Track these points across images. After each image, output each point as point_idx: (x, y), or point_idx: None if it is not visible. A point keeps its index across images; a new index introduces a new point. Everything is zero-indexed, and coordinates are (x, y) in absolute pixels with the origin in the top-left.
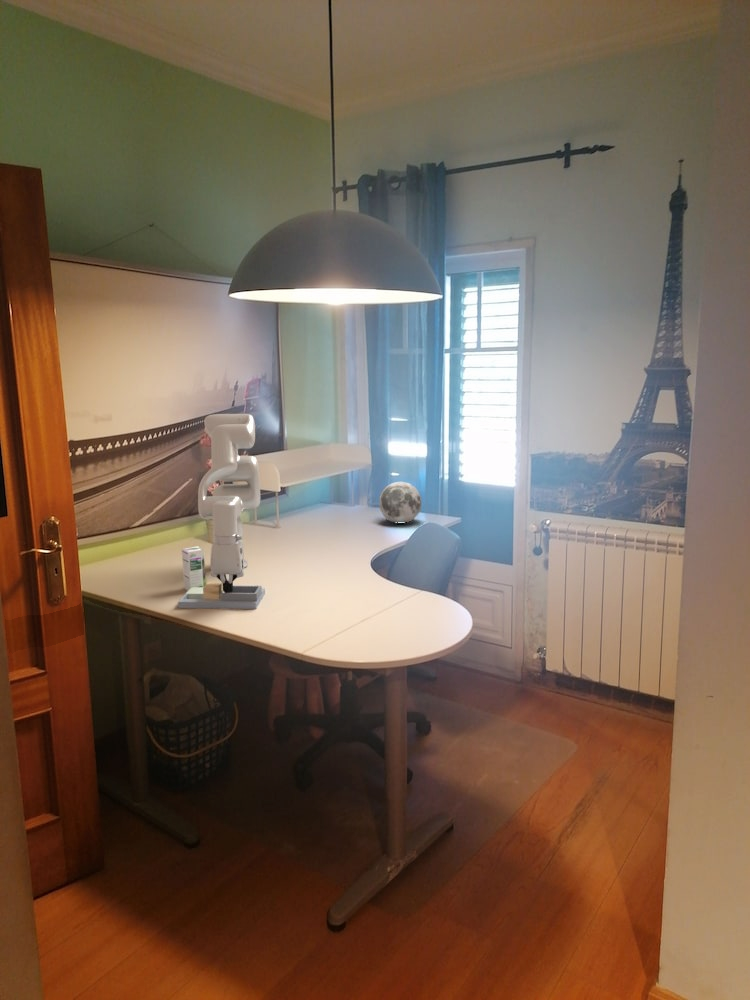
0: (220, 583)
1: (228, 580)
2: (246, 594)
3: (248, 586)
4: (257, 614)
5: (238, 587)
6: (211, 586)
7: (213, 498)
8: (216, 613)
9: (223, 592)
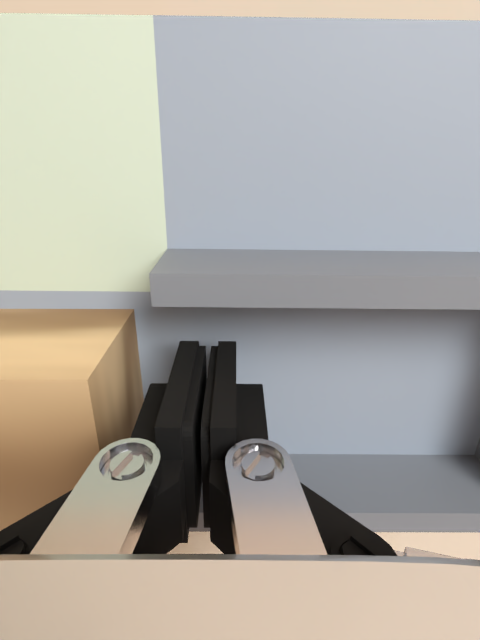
0: (73, 407)
1: (212, 520)
2: (431, 526)
3: (460, 308)
4: (459, 542)
5: (316, 301)
6: (7, 516)
7: None
8: (189, 534)
9: (117, 240)
